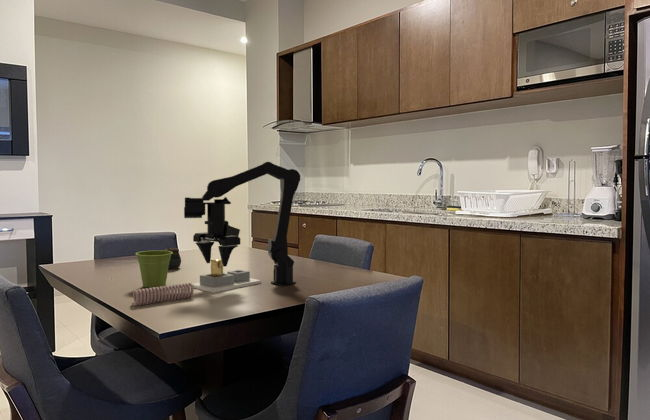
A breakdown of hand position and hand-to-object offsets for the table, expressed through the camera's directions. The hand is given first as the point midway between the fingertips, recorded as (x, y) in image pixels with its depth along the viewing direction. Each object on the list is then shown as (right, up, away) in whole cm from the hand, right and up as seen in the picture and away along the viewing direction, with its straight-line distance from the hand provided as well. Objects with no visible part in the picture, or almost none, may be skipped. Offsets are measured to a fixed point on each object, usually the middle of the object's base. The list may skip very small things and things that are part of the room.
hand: (216, 264), depth 162 cm
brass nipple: (0, -7, 0) cm, 7 cm away
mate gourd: (-26, -6, +36) cm, 45 cm away
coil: (-11, -9, -19) cm, 24 cm away
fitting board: (+3, -7, +3) cm, 9 cm away
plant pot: (-21, -8, +2) cm, 23 cm away
